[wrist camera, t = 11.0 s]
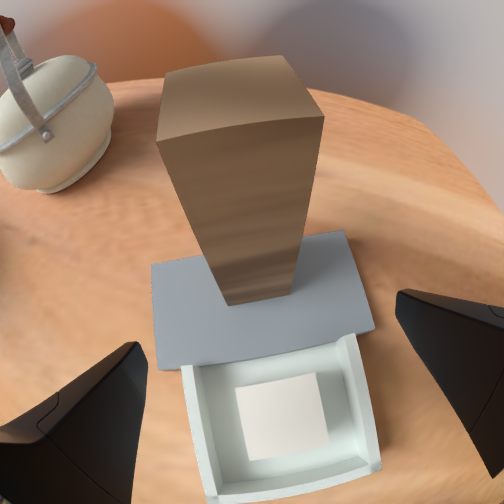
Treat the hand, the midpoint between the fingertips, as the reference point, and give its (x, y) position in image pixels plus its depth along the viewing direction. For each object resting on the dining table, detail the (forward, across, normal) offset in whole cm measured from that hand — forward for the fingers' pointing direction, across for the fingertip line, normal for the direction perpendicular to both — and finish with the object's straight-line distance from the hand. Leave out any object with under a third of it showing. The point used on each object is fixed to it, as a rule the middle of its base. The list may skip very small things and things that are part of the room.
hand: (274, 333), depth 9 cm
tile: (+6, 0, +11) cm, 12 cm away
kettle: (+30, +23, -14) cm, 40 cm away
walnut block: (+12, 0, +3) cm, 12 cm away
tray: (+5, 0, +12) cm, 13 cm away
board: (+12, 0, +5) cm, 13 cm away
